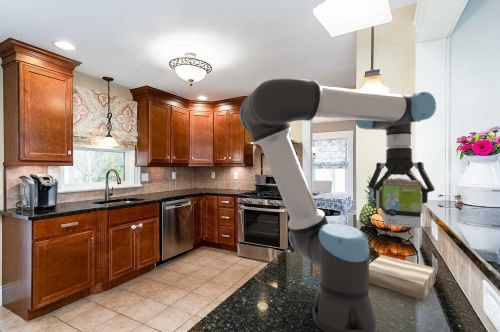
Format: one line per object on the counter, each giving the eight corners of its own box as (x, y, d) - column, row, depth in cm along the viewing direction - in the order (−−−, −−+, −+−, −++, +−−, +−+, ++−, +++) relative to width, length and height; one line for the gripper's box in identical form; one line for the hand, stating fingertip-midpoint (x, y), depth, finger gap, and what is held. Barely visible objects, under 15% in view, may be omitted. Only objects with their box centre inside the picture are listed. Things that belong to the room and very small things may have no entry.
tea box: (422, 228, 75) (422, 180, 75) (385, 225, 79) (384, 180, 79) (411, 219, 89) (411, 178, 89) (380, 217, 93) (380, 178, 93)
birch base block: (423, 301, 72) (423, 284, 72) (364, 282, 84) (364, 267, 84) (435, 282, 84) (435, 268, 84) (381, 267, 96) (381, 255, 96)
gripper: (445, 146, 78) (446, 214, 78) (366, 150, 95) (366, 205, 95) (441, 144, 73) (441, 217, 72) (358, 149, 90) (358, 207, 90)
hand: (399, 210), depth 84 cm, fingers closed on tea box, 12 cm apart
